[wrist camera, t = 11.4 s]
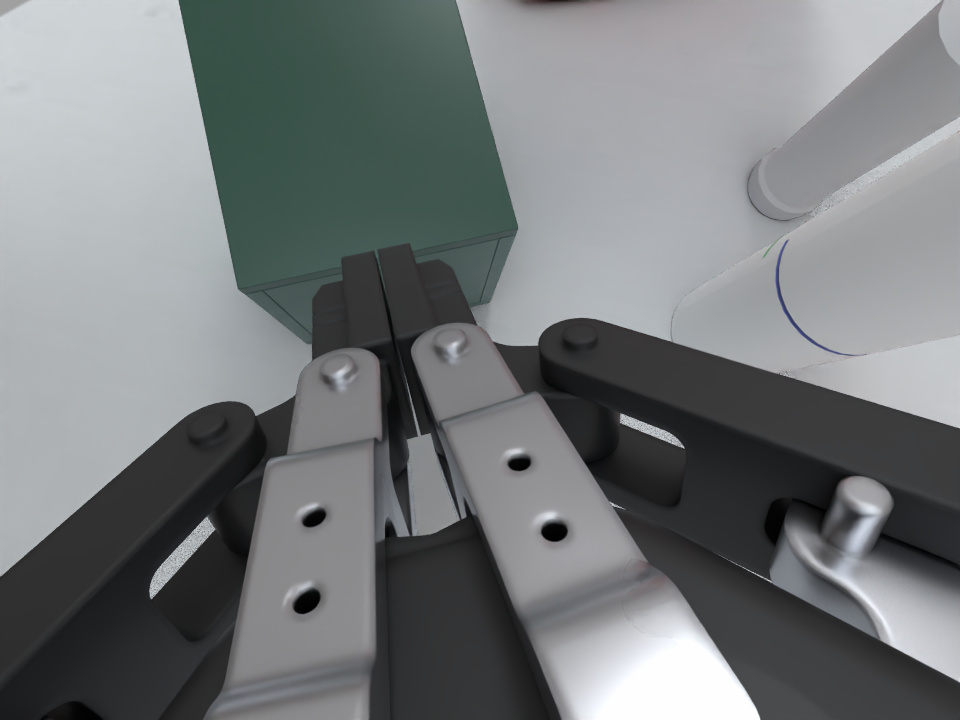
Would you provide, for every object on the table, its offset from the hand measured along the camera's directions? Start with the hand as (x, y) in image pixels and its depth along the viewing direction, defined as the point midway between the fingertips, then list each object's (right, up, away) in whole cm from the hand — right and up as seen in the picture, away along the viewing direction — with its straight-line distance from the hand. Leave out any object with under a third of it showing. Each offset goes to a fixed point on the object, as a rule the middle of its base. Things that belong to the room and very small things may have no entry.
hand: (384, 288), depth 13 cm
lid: (-4, +10, +14) cm, 18 cm away
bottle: (+24, +11, +30) cm, 40 cm away
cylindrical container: (+19, 0, +28) cm, 34 cm away
